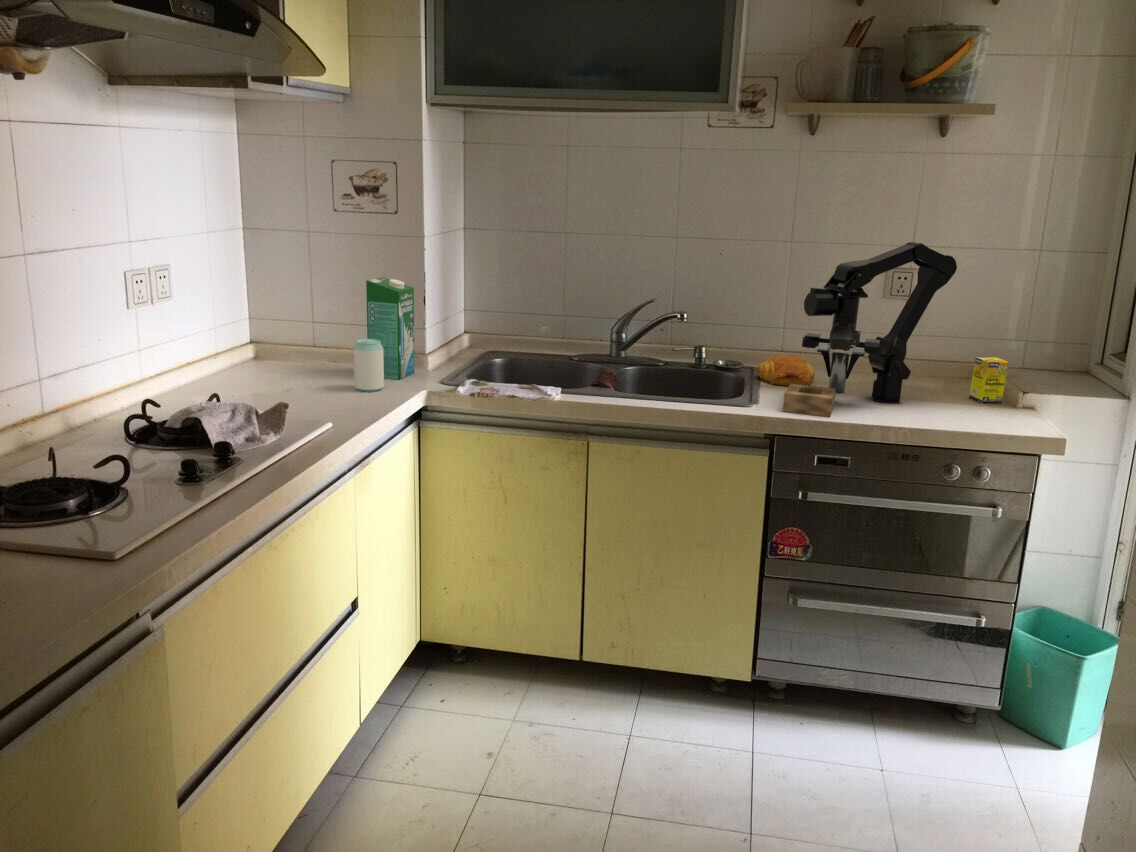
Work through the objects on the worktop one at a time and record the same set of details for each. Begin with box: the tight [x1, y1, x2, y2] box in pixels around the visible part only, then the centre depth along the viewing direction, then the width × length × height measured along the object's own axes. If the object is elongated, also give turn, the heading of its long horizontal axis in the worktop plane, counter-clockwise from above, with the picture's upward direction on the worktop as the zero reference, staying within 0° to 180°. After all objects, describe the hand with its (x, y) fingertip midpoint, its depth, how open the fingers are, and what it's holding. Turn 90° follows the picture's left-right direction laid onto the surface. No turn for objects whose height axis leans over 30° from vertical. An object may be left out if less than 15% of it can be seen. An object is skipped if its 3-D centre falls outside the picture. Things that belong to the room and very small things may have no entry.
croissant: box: [756, 354, 816, 387], centre depth 261 cm, size 14×16×8 cm
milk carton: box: [365, 276, 415, 381], centre depth 247 cm, size 9×9×25 cm
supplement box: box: [968, 356, 1010, 404], centre depth 246 cm, size 6×6×11 cm
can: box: [353, 338, 385, 393], centre depth 234 cm, size 7×7×12 cm
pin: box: [828, 350, 850, 395], centre depth 238 cm, size 4×4×10 cm
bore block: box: [782, 384, 837, 418], centre depth 232 cm, size 11×11×4 cm
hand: (837, 377), depth 239 cm, fingers closed on pin, 4 cm apart
